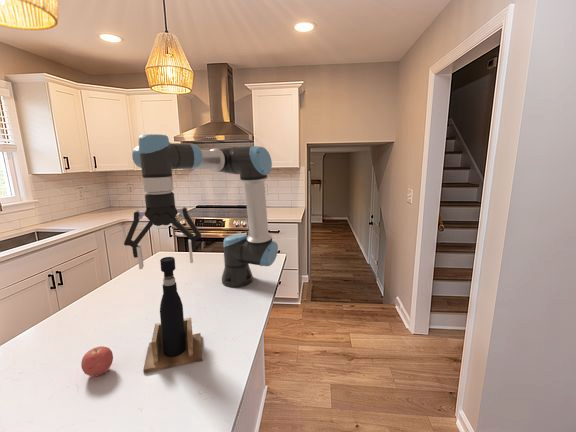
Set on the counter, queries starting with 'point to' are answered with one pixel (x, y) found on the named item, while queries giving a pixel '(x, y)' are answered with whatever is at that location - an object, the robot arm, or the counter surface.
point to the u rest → (190, 355)
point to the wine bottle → (171, 312)
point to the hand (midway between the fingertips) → (167, 264)
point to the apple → (97, 361)
